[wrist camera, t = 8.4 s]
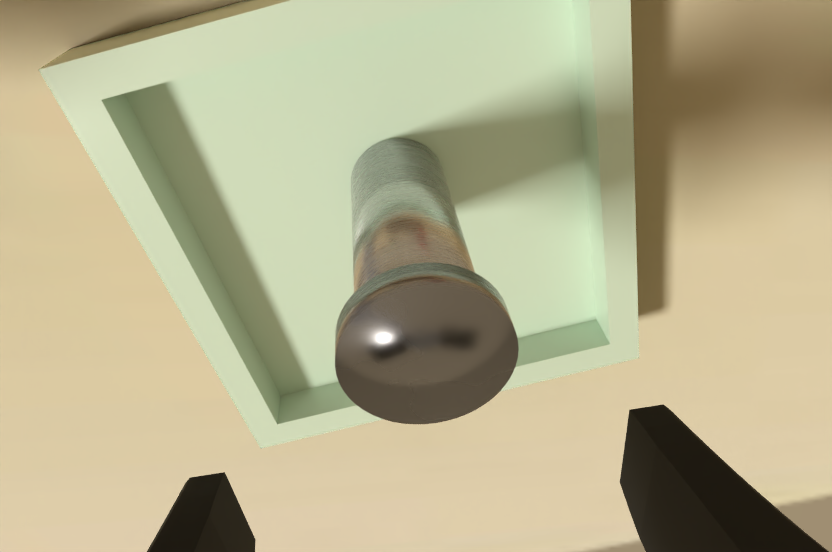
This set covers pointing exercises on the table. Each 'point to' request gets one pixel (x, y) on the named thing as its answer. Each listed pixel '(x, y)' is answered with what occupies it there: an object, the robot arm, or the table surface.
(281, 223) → the tray
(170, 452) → the table surface
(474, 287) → the pin
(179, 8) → the table surface
